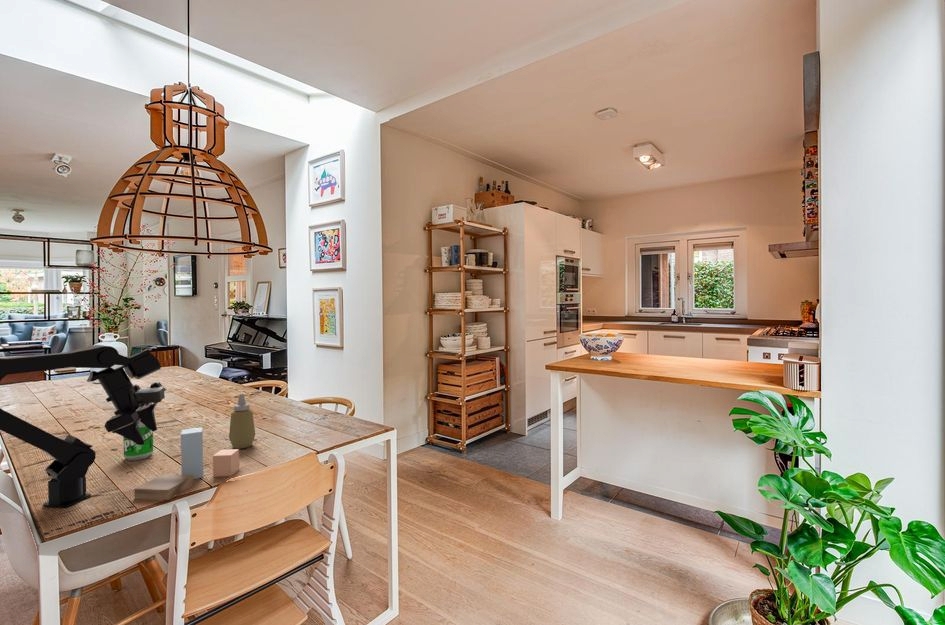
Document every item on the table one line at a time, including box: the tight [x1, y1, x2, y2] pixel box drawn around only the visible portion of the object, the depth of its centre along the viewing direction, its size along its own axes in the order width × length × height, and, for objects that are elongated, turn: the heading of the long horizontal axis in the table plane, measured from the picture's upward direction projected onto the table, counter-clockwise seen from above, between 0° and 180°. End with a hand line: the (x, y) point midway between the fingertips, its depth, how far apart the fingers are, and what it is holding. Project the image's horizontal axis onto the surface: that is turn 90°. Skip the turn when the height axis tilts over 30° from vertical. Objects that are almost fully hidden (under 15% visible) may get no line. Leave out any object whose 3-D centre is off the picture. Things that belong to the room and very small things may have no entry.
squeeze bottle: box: [228, 393, 256, 450], centre depth 148 cm, size 8×8×18 cm
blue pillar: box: [180, 426, 204, 480], centre depth 123 cm, size 5×5×13 cm
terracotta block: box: [212, 448, 240, 477], centre depth 125 cm, size 5×5×6 cm
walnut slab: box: [133, 473, 195, 501], centre depth 113 cm, size 9×9×3 cm
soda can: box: [122, 421, 154, 461], centre depth 138 cm, size 8×8×12 cm
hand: (149, 437), depth 120 cm, fingers open, 9 cm apart
